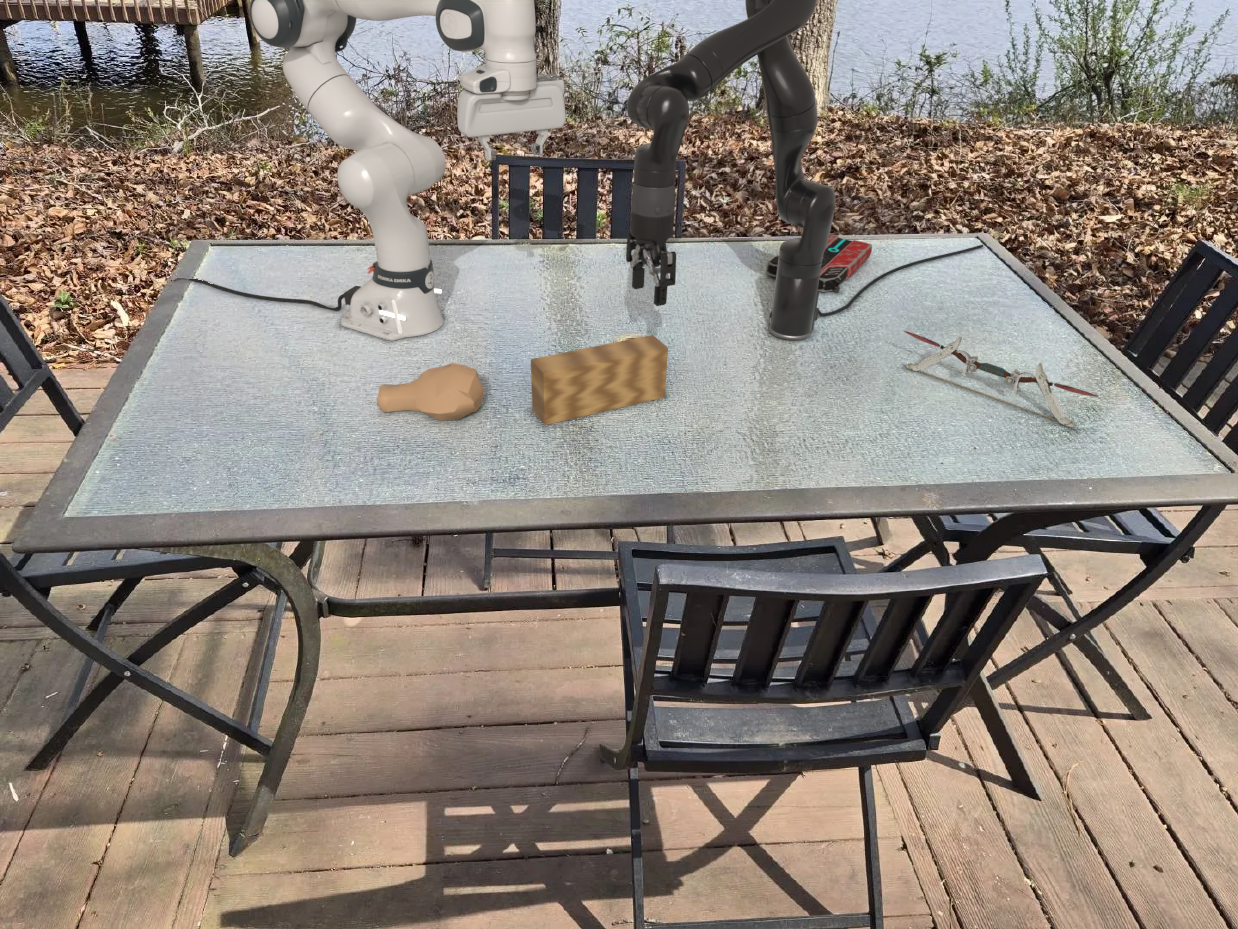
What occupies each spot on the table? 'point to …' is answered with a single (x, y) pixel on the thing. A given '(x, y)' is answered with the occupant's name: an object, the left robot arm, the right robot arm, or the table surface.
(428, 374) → the squash
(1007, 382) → the bow
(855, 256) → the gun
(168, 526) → the table surface
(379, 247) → the left robot arm
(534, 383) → the box
